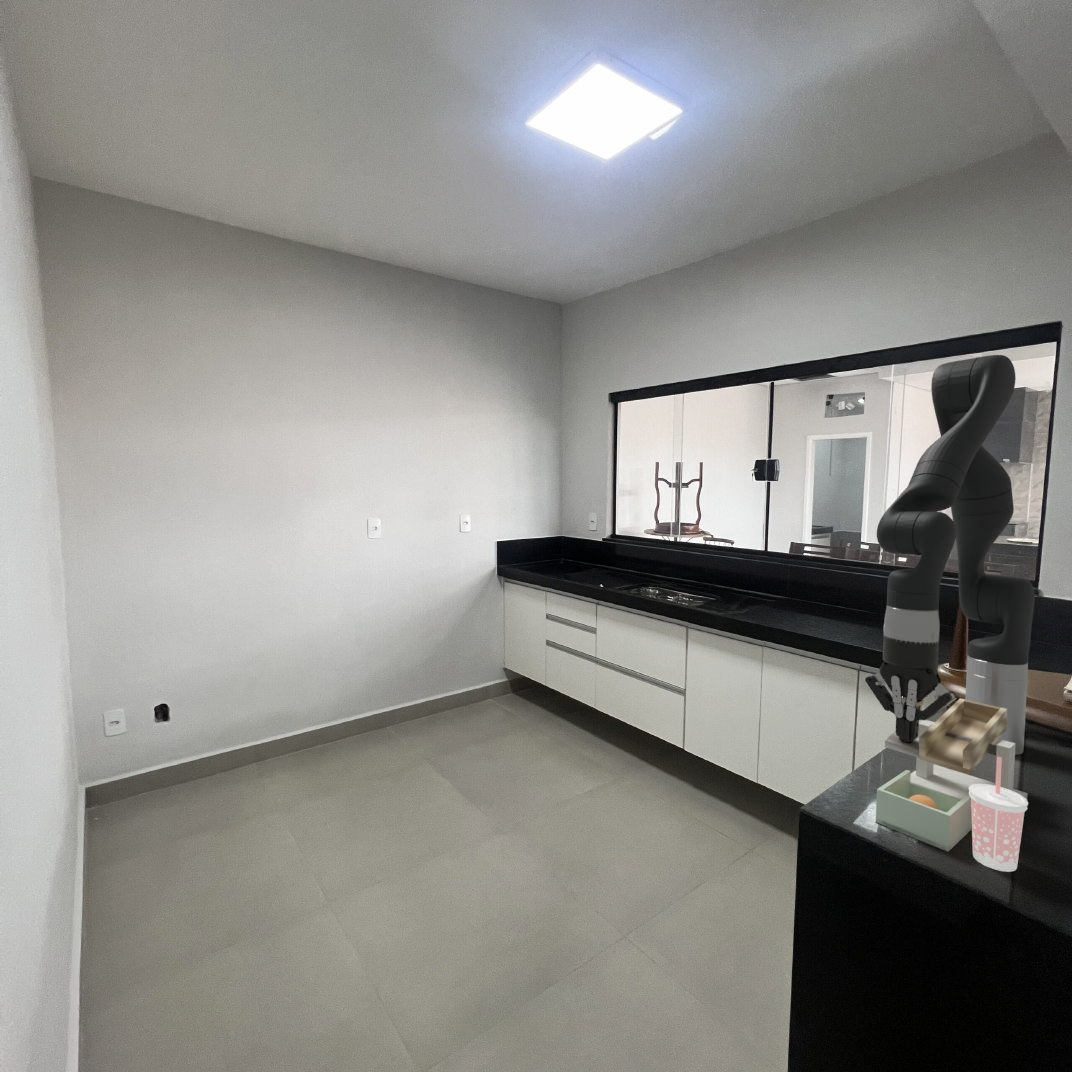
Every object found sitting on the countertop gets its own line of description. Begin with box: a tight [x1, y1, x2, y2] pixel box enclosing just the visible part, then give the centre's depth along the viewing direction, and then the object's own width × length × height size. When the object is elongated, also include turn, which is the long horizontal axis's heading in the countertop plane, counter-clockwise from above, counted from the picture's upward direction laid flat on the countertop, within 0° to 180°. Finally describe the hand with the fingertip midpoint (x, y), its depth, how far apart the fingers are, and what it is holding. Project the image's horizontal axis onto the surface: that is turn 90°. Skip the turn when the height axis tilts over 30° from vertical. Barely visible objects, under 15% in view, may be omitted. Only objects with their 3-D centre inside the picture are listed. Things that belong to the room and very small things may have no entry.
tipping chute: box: [884, 698, 1007, 775], centre depth 96 cm, size 18×12×5 cm
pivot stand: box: [910, 719, 1028, 801], centre depth 95 cm, size 12×14×10 cm
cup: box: [875, 769, 972, 853], centre depth 86 cm, size 11×9×5 cm
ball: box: [909, 795, 938, 809], centre depth 85 cm, size 4×4×4 cm
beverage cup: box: [969, 757, 1029, 873], centre depth 77 cm, size 6×6×14 cm
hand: (906, 740), depth 95 cm, fingers closed
